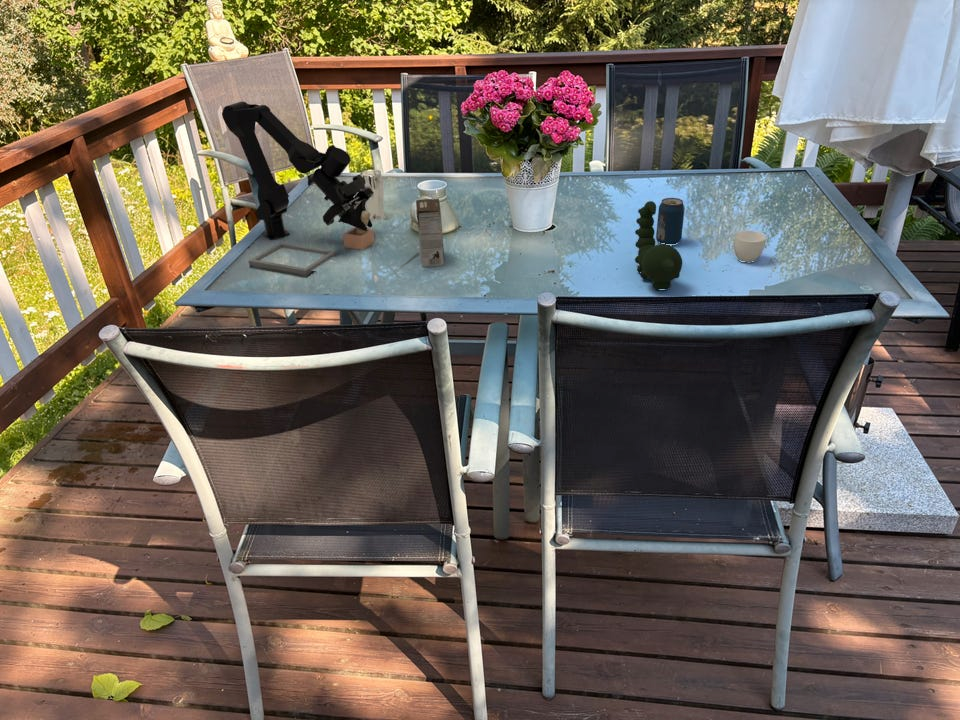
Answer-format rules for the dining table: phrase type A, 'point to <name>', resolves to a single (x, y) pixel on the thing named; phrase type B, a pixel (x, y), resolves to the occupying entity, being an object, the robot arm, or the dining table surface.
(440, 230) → the coffee box
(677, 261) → the toy figurine
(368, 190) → the robot arm
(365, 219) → the wooden dowel
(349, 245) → the terracotta box
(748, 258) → the cup
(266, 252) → the charcoal frame
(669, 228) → the soda can
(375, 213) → the beer glass
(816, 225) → the dining table surface
